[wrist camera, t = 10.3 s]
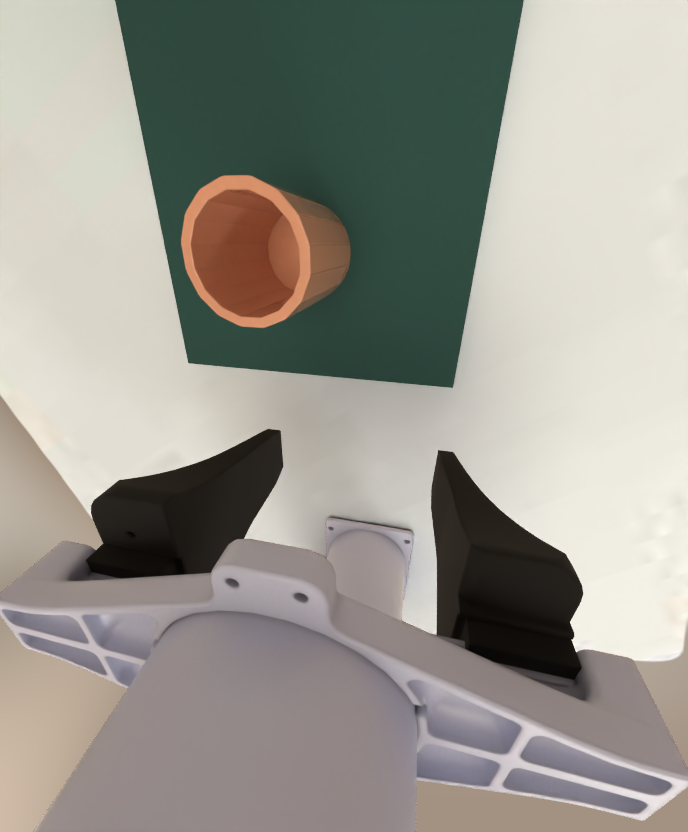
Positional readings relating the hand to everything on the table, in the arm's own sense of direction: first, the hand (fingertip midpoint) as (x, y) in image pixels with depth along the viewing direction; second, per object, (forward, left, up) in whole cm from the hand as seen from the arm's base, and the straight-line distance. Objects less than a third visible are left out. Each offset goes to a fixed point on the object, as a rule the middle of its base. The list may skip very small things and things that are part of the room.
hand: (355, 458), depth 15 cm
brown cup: (+8, +5, -10) cm, 14 cm away
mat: (+10, +5, -10) cm, 15 cm away
